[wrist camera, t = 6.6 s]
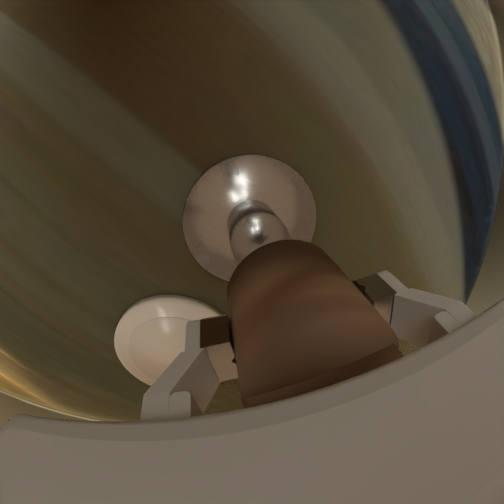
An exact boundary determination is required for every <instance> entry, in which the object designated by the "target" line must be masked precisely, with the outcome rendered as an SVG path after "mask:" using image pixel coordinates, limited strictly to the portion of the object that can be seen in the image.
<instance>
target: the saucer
mask: <svg viewBox="0 0 504 504" xmlns="http://www.w3.org/2000/svg"><path fill="white" fill-rule="evenodd" d="M219 315H223V314H222V313H221V312H219V311H218V310H217V309H215V308H214V307H212V306H211V305H209V304H207V303H205V302H203V301H200V300H198V299H195V298H191V297H188V296H182V295H173V294H165V295H156V296H151V297H147V298H144V299H142V300H140V301H138V302H136V303H134V304H133V305H131V306H130V307H129V308H128V309H127V310H126V311H125V312H124V314H123V315H122V316H121V318H120V321H119V323H118V325H117V328H116V331H115V335H114V346H115V350H116V354H117V356H118V358H119V360H120V361H121V363H122V364H123V366H124V367H125V368H126V369H127V370H128V371H129V372H130V373H131V374H132V375H133V376H135V377H136V378H137V379H139V380H141V381H142V382H144V383H146V384H148V385H150V386H152V385H153V384H154V382H155V381H156V380H157V379H158V378H159V377H160V376H161V374H162V373H163V372H164V371H165V370H166V369H167V368H168V366H169V365H170V364H171V363H172V362H173V361H174V359H175V358H176V357H177V356H178V355H179V354H180V353H181V352H184V351H185V337H186V324H187V323H188V322H189V321H194V320H199V319H200V320H201V319H204V318H209V317H214V316H219ZM219 383H220V382H219Z"/></svg>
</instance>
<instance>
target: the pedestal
mask: <svg viewBox="0 0 504 504" xmlns="http://www.w3.org/2000/svg"><path fill="white" fill-rule="evenodd" d="M315 227H316V206H315V202H314V198H313V195H312V193H311V190H310V189H309V187H308V185H307V183H306V182H305V181H304V179H303V178H302V177H301V176H300V175H299V174H298V173H297V172H296V171H295V170H294V169H293V168H291V167H290V166H289V165H287V164H285V163H283V162H281V161H279V160H276V159H274V158H271V157H268V156H263V155H256V154H244V155H238V156H233V157H230V158H227V159H224V160H222V161H220V162H218V163H216V164H215V165H213V166H212V167H210V168H209V169H208V170H207V171H205V172H204V173H203V174H202V175H201V176H200V178H199V179H198V180H197V181H196V183H195V184H194V186H193V187H192V189H191V191H190V193H189V195H188V198H187V201H186V204H185V207H184V213H183V232H184V237H185V240H186V243H187V246H188V248H189V250H190V252H191V254H192V255H193V257H194V258H195V259H196V261H197V262H198V263H199V264H200V265H201V266H202V267H203V268H204V269H205V270H207V271H208V272H209V273H211V274H212V275H214V276H216V277H218V278H220V279H223V280H226V281H230V278H231V276H232V274H233V272H234V270H235V269H236V267H237V266H238V265H239V263H240V262H241V261H242V260H243V259H244V258H245V257H246V256H247V255H249V254H250V253H251V252H253V251H254V250H256V249H257V248H259V247H261V246H263V245H266V244H268V243H271V242H275V241H279V240H302V241H306V242H309V243H311V241H312V239H313V236H314V232H315Z"/></svg>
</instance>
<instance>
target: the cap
mask: <svg viewBox="0 0 504 504" xmlns="http://www.w3.org/2000/svg"><path fill="white" fill-rule="evenodd" d="M227 302H228V310H229V317H230V325H231V332H232V339H233V346H234V353H235V360H236V367H237V373H238V380H239V386H240V393H241V399H242V403H243V405H244V408H248V407H253V406H257V405H262V404H266V403H270V402H274V401H278V400H282V399H286V398H290V397H294V396H297V395H301V394H304V393H307V392H311V391H314V390H317V389H320V388H324V387H327V386H330V385H333V384H336V383H339V382H341V381H344V380H347V379H350V378H352V377H355V376H358V375H360V374H363V373H365V372H368V371H371V370H373V369H375V368H378V367H380V366H383V365H385V364H387V363H390V362H392V361H394V360H396V359H399V358H401V357H403V355H402V353H401V352H400V351H399V349H398V340H397V337H396V334H395V332H394V331H393V329H392V328H391V327H390V325H389V324H388V323H387V322H386V321H385V319H384V318H383V317H382V316H381V315H380V314H379V312H378V311H377V310H376V309H375V308H374V307H373V305H372V304H371V303H370V302H369V301H368V300H367V298H366V297H365V296H364V295H363V294H362V293H361V292H360V290H359V289H358V288H357V287H356V286H355V285H354V284H353V282H352V281H351V280H350V279H349V278H348V277H347V276H346V275H345V273H344V272H343V271H342V270H341V269H340V268H339V267H338V266H337V265H336V264H335V262H334V261H333V260H332V259H331V258H330V257H329V256H328V255H327V254H326V253H325V252H324V251H323V250H322V249H321V248H319V247H317V246H316V245H314V244H311V243H309V242H306V241H302V240H279V241H275V242H271V243H268V244H266V245H263V246H261V247H259V248H257V249H256V250H254V251H253V252H251V253H250V254H249V255H247V256H246V257H245V258H244V259H243V260H242V261H241V262H240V263H239V265H238V266H237V267H236V269H235V270H234V272H233V274H232V276H231V278H230V281H229V284H228V289H227Z"/></svg>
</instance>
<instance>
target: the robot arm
mask: <svg viewBox="0 0 504 504" xmlns="http://www.w3.org/2000/svg"><path fill="white" fill-rule="evenodd" d="M352 282H353V284H354V285H355V286H356V287H357V288H358V289H359V290H360V292H361V293H362V294H363V295H364V296H365V297H366V298H367V300H368V301H369V302H370V303H371V304H372V305H373V307H374V308H375V309H376V310H377V311H378V312H379V314H380V315H381V316H382V317H383V318H384V319H385V321H386V322H387V323H388V324H389V325H390V327H391V328H392V329H393V331H394V332H395V334H396V337H398V338H400V339H402V340H404V341H406V342H408V343H410V344H412V345H414V346H416V347H418V348H420V349H418V350H416V351H413V352H411V353H409V354H407V355H405V356H403V357H401V358H399V359H396V360H394V361H392V362H390V363H387V364H385V365H383V366H380V367H378V368H375V369H373V370H371V371H368V372H365V373H363V374H360V375H358V376H355V377H352V378H350V379H347V380H344V381H341V382H339V383H336V384H333V385H330V386H327V387H324V388H320V389H317V390H314V391H311V392H307V393H304V394H301V395H297V396H294V397H290V398H286V399H282V400H278V401H274V402H270V403H266V404H262V405H257V406H253V407H248V408H243V409H238V410H232V411H227V412H221V413H215V414H208V415H204V414H203V413H204V412H205V410H206V408H207V406H208V404H209V402H210V401H211V399H212V397H213V395H214V393H215V391H216V389H217V388H218V386H219V384H220V383H219V382H222V381H227V380H231V379H235V378H238V373H237V367H236V360H235V353H234V346H233V339H232V332H231V325H230V321H229V318H228V315H227V314H224V315H219V316H214V317H209V318H204V319H201V320H200V319H199V320H194V321H189V322H188V323H187V324H186V337H185V351H184V352H181V353H180V354H179V355H178V356H177V357H176V358H175V359H174V361H173V362H172V363H171V364H170V365H169V366H168V368H167V369H166V370H165V371H164V372H163V373H162V374H161V376H160V377H159V378H158V379H157V380H156V381H155V382H154V384H153V385H152V386H151V387H150V388H149V389H148V390H147V392H146V393H145V394H144V396H143V403H142V410H141V417H140V421H125V422H102V421H76V420H64V419H54V418H45V417H37V416H32V415H26V414H18V415H16V416H14V417H13V418H11V419H10V420H8V421H7V422H6V423H5V424H4V425H2V426H1V427H0V504H504V298H503V299H501V300H500V301H498V302H497V303H496V304H494V305H493V306H491V307H490V308H488V309H487V310H485V311H484V312H482V313H481V314H479V315H478V316H477V315H476V314H475V313H474V312H472V311H471V310H470V309H469V308H468V307H467V306H466V305H465V304H463V303H462V302H461V301H459V300H455V299H451V298H447V297H443V296H440V295H436V294H432V293H428V292H425V291H421V290H417V289H413V288H410V289H408V288H407V287H406V286H404V285H403V284H402V283H401V282H400V281H399V280H398V279H397V278H395V277H394V276H393V275H392V274H391V273H390V272H389V271H387V270H384V271H381V272H378V273H375V274H373V275H370V276H367V277H364V278H361V279H358V280H355V281H352Z"/></svg>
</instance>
